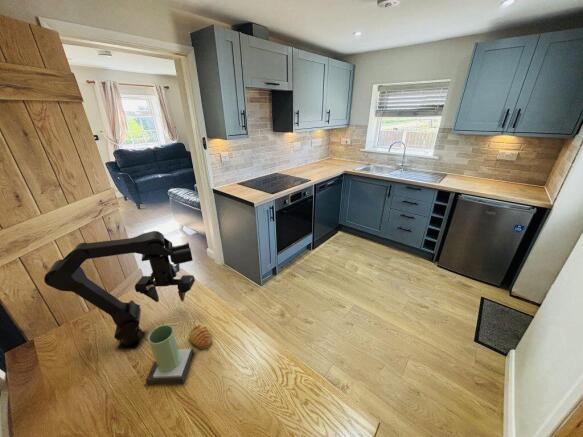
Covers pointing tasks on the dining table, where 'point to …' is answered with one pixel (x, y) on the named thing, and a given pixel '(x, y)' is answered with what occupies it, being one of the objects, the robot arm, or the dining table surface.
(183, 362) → the scale
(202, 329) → the pastry
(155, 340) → the cup
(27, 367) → the dining table surface
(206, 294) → the dining table surface
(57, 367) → the dining table surface
